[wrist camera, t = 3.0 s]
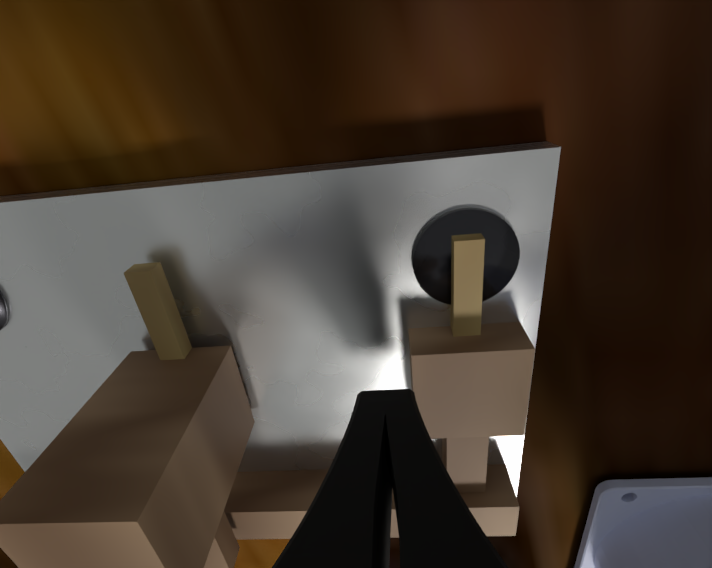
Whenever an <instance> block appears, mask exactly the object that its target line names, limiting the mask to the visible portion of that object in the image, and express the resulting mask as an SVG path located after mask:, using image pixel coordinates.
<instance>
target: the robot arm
mask: <svg viewBox="0 0 712 568" xmlns="http://www.w3.org/2000/svg"><path fill="white" fill-rule="evenodd" d="M392 489H393V494H394V502H395V510H396V517H397V525H398V533H399V541H400V566H401V568H508V567H507V565H506V564H505V562H504V561H503V560H502V558H501V557H500V555H499V554H498V552H497V551H496V550H495V548H494V547H493V545H492V544H491V542H490V541H489V539H488V538H487V536H486V535H485V533H484V532H483V530H482V529H481V527H480V526H479V524H478V523H477V521H476V519H475V518H474V516H473V515H472V513H471V511H470V510H469V508H468V506H467V505H466V503H465V502H464V500H463V498H462V496H461V495H460V493H459V491H458V490H457V488H456V486H455V484H454V483H453V481H452V479H451V477H450V475H449V474H448V472H447V470H446V468H445V466H444V464H443V462H442V460H441V458H440V456H439V454H438V452H437V450H436V448H435V446H434V444H433V442H432V440H431V438H430V436H429V433H428V431H427V429H426V426H425V424H424V422H423V419H422V417H421V414H420V411H419V408H418V405H417V402H416V398H415V393H414V392H413V391H412V390H411V389H392V390H370V391H361V392H360V393H358V394H357V398H356V402H355V406H354V409H353V412H352V415H351V418H350V421H349V424H348V426H347V429H346V431H345V434H344V436H343V439H342V441H341V443H340V446H339V448H338V450H337V453H336V455H335V457H334V459H333V462H332V464H331V466H330V468H329V470H328V472H327V474H326V476H325V478H324V480H323V482H322V484H321V486H320V488H319V490H318V492H317V494H316V496H315V498H314V499H313V501H312V503H311V505H310V507H309V509H308V510H307V512H306V514H305V516H304V517H303V519H302V521H301V523H300V524H299V526H298V528H297V529H296V531H295V532H294V534H293V536H292V537H291V539H290V541H289V542H288V544H287V546H286V547H285V549H284V550H283V552H282V553H281V555H280V556H279V558H278V559H277V561H276V562H275V564H274V565H273V567H272V568H389V555H390V534H391V512H392ZM574 568H712V477H697V478H657V479H617V480H606V481H603V482H601V483H600V484H598V485H597V487H596V489H595V492H594V495H593V499H592V503H591V507H590V510H589V514H588V518H587V522H586V525H585V529H584V533H583V536H582V540H581V544H580V548H579V551H578V555H577V559H576V563H575V566H574Z"/></svg>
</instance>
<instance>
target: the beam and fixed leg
mask: <svg viewBox="0 0 712 568" xmlns="http://www.w3.org/2000/svg"><path fill="white" fill-rule="evenodd" d="M484 249H485V238H484V237H483V235H482V234H481V233H478V234H465V235H453V236H451V305H450V326H441V327H425V328H409V329H408V333H409V351H410V369H411V387H412V391H413V392H414V393H415V398H416V402H417V405H418V408H419V411H420V414H421V417H422V419H423V422H424V424H425V426H426V429H427V431H428V433H429V436H430V438H431V439H437V438H442V462H443V464H444V466H445V468H446V470H447V472H448V474H449V475H450V477H451V479H452V481H453V483H454V484H455V486H456V488H457V490H458V491H459V493H460V495H461V496H462V498H463V500H464V502H465V503H466V505H467V506H468V508H469V510H470V511H471V513H472V515H473V516H474V518H475V519H476V521H477V523H478V524H479V526H480V527H481V529H482V530H483V532H484V533H485V535H486V536H516V529H517V521H518V514H519V504H518V501H517V498H516V495H515V492H514V489H513V486H512V482H511V479H510V476H509V473H508V470H507V467H506V464H491V465H487V459H488V445H489V437H494V436H522V435H524V434H525V426H526V418H527V410H528V402H529V394H530V386H531V378H532V370H533V362H534V354H535V348H534V346H533V344H532V342H531V341H530V339H529V337H528V335H527V334H526V332H525V330H524V328H523V326H522V325H521V323H520V322H507V323H491V324H481V314H482V292H483V271H484ZM328 470H329V469H319V470H285V471H250V472H237V474H236V477H235V480H234V483H233V486H232V488H231V491H230V494H229V497H228V500H227V503H226V506H225V509H224V512H225V514H226V517H227V519H228V521H229V524H230V526H231V528H232V531H233V533H234V535H235V538H236V539H291V537H292V536H293V534H294V532H295V531H296V529H297V528H298V526H299V524H300V523H301V521H302V519H303V517H304V516H305V514H306V512H307V510H308V509H309V507H310V505H311V503H312V501H313V499H314V498H315V496H316V494H317V492H318V490H319V488H320V486H321V484H322V482H323V480H324V478H325V476H326V474H327V472H328ZM390 537H399V533H398V525H397V517H396V510H395V502H394V494H393V489H392V512H391V534H390Z"/></svg>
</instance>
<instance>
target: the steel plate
mask: <svg viewBox="0 0 712 568" xmlns="http://www.w3.org/2000/svg"><path fill="white" fill-rule="evenodd" d="M560 151H561V147H560V146H557V145H555V144H553V143H550V142H548V141H544V142H534V143H524V144H514V145H505V146H495V147H485V148H475V149H465V150H455V151H445V152H435V153H425V154H415V155H406V156H396V157H386V158H376V159H366V160H356V161H346V162H336V163H326V164H316V165H307V166H297V167H287V168H277V169H267V170H257V171H247V172H237V173H227V174H217V175H208V176H198V177H188V178H178V179H168V180H158V181H148V182H138V183H128V184H118V185H109V186H99V187H89V188H79V189H69V190H59V191H49V192H39V193H29V194H19V195H10V196H0V439H1V440H2V442H3V443H4V444H5V446H6V447H7V448H8V450H9V451H10V452H11V454H12V455H13V457H14V458H15V459H16V461H17V462H18V463H19V465H20V466H21V467H22V469H23V470H24V471H25V472H26V471H27V469H28V468H29V467H30V466H31V465H32V464H33V463H34V461H35V460H36V459H37V458H38V457H39V456H40V455H41V453H42V452H43V451H44V450H45V449H46V448H47V447H48V445H49V444H50V443H51V442H52V441H53V440H54V439H55V437H56V436H57V435H58V434H59V433H60V432H61V431H62V430H63V428H64V427H65V426H66V425H67V424H68V423H69V422H70V420H71V419H72V418H73V417H74V416H75V415H76V414H77V412H78V411H79V410H80V409H81V408H82V407H83V406H84V404H85V403H86V402H87V401H88V400H89V399H90V398H91V396H92V395H93V394H94V393H95V392H96V391H97V390H98V388H99V387H100V386H101V385H102V384H103V383H104V382H105V380H106V379H107V378H108V377H109V376H110V375H111V374H112V372H113V371H114V370H115V369H116V368H117V367H118V366H119V364H120V363H121V362H122V361H123V360H124V359H125V358H126V356H127V355H128V354H129V353H130V352H131V351H146V350H156V349H155V347H154V344H153V342H152V339H151V337H150V335H149V332H148V330H147V328H146V325H145V323H144V321H143V318H142V316H141V313H140V311H139V309H138V306H137V304H136V302H135V299H134V297H133V295H132V292H131V290H130V288H129V285H128V283H127V280H126V278H125V276H124V272H125V271H126V270H128V269H129V268H130V267H131V266H133V265H134V264H143V263H155V262H160V263H161V265H162V268H163V271H164V273H165V276H166V279H167V281H168V284H169V287H170V290H171V292H172V295H173V298H174V300H175V303H176V306H177V309H178V311H179V314H180V317H181V319H182V322H183V325H184V327H185V330H186V333H187V336H188V338H189V341H190V344H191V346H192V348H197V347H213V346H230V345H231V347H232V350H233V354H234V357H235V360H236V363H237V366H238V370H239V373H240V376H241V379H242V382H243V386H244V389H245V392H246V395H247V398H248V402H249V405H250V408H251V411H252V414H253V418H254V421H255V423H254V426H253V428H252V431H251V434H250V437H249V440H248V443H247V446H246V448H245V451H244V454H243V457H242V460H241V463H240V466H239V468H238V471H237V472H250V471H285V470H319V469H329V468H330V466H331V464H332V462H333V459H334V457H335V455H336V453H337V450H338V448H339V446H340V443H341V441H342V439H343V436H344V434H345V431H346V429H347V426H348V424H349V421H350V418H351V415H352V412H353V409H354V406H355V402H356V398H357V394H358V393H360V392H361V391H370V390H392V389H411V390H412V387H411V369H410V351H409V333H408V329H409V328H425V327H441V326H450V305H451V236H453V235H465V234H478V233H481V234H482V235H483V237H484V238H485V249H484V271H483V292H482V314H481V324H491V323H507V322H520V323H521V325H522V326H523V328H524V330H525V332H526V334H527V335H528V337H529V339H530V341H531V342H532V344H533V346H534V348H536V340H537V332H538V324H539V316H540V308H541V301H542V293H543V285H544V277H545V269H546V261H547V253H548V245H549V237H550V230H551V222H552V214H553V206H554V198H555V190H556V182H557V174H558V166H559V159H560ZM534 356H535V354H534ZM533 364H534V362H533ZM532 372H533V370H532ZM531 380H532V378H531ZM530 387H531V386H530ZM529 395H530V394H529ZM528 403H529V402H528ZM527 411H528V410H527ZM526 419H527V418H526ZM525 427H526V426H525ZM524 435H525V434H524ZM524 435H522V436H494V437H489V445H488V459H487V465H491V464H506V467H507V470H508V473H509V476H510V479H511V482H512V486H513V489H514V492H515V495H516V497H517V490H518V482H519V474H520V466H521V458H522V451H523V443H524ZM431 440H432V442H433V444H434V446H435V448H436V450H437V452H438V454H439V456H440V458H441V460H442V438H437V439H431Z"/></svg>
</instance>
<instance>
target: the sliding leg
mask: <svg viewBox="0 0 712 568" xmlns="http://www.w3.org/2000/svg"><path fill="white" fill-rule="evenodd" d="M124 276H125V278H126V280H127V283H128V285H129V288H130V290H131V292H132V295H133V297H134V299H135V302H136V304H137V306H138V309H139V311H140V313H141V316H142V318H143V321H144V323H145V325H146V328H147V330H148V332H149V335H150V337H151V339H152V342H153V344H154V347H155V349H156V350H146V351H131V352H130V353H129V354H128V355H127V356H126V358H125V359H124V360H123V361H122V362H121V363H120V364H119V366H118V367H117V368H116V369H115V370H114V371H113V372H112V374H111V375H110V376H109V377H108V378H107V379H106V380H105V382H104V383H103V384H102V385H101V386H100V387H99V388H98V390H97V391H96V392H95V393H94V394H93V395H92V396H91V398H90V399H89V400H88V401H87V402H86V403H85V404H84V406H83V407H82V408H81V409H80V410H79V411H78V412H77V414H76V415H75V416H74V417H73V418H72V419H71V420H70V422H69V423H68V424H67V425H66V426H65V427H64V428H63V430H62V431H61V432H60V433H59V434H58V435H57V436H56V437H55V439H54V440H53V441H52V442H51V443H50V444H49V445H48V447H47V448H46V449H45V450H44V451H43V452H42V453H41V455H40V456H39V457H38V458H37V459H36V460H35V461H34V463H33V464H32V465H31V466H30V467H29V468H28V469H27V471H26V472H25V473H24V474H23V475H22V476H21V477H20V479H19V480H18V481H17V482H16V483H15V484H14V485H13V487H12V488H11V489H10V490H9V491H8V492H7V493H6V495H5V496H4V497H3V498H2V499H1V500H0V548H1V549H2V550H3V551H4V552H5V553H6V554H7V556H8V557H9V558H10V559H11V560H12V561H13V562H14V563H15V564H16V565H17V566H18V568H234V565H235V561H236V558H237V554H238V551H239V548H240V547H239V545H238V543H237V540H236V538H235V535H234V533H233V531H232V528H231V526H230V524H229V521H228V519H227V517H226V514H225V512H224V509H225V506H226V503H227V500H228V497H229V494H230V491H231V488H232V486H233V483H234V480H235V477H236V474H237V471H238V468H239V466H240V463H241V460H242V457H243V454H244V451H245V448H246V446H247V443H248V440H249V437H250V434H251V431H252V428H253V426H254V423H255V421H254V418H253V414H252V411H251V408H250V405H249V402H248V398H247V395H246V392H245V389H244V386H243V382H242V379H241V376H240V373H239V370H238V366H237V363H236V360H235V357H234V354H233V350H232V347H231V345H230V346H213V347H197V348H192V346H191V344H190V341H189V338H188V336H187V333H186V330H185V327H184V325H183V322H182V319H181V317H180V314H179V311H178V309H177V306H176V303H175V300H174V298H173V295H172V292H171V290H170V287H169V284H168V281H167V279H166V276H165V273H164V271H163V268H162V265H161V263H160V262H155V263H143V264H134V265H133V266H131V267H130V268H129V269H128V270H126V271H125V272H124Z"/></svg>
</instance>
